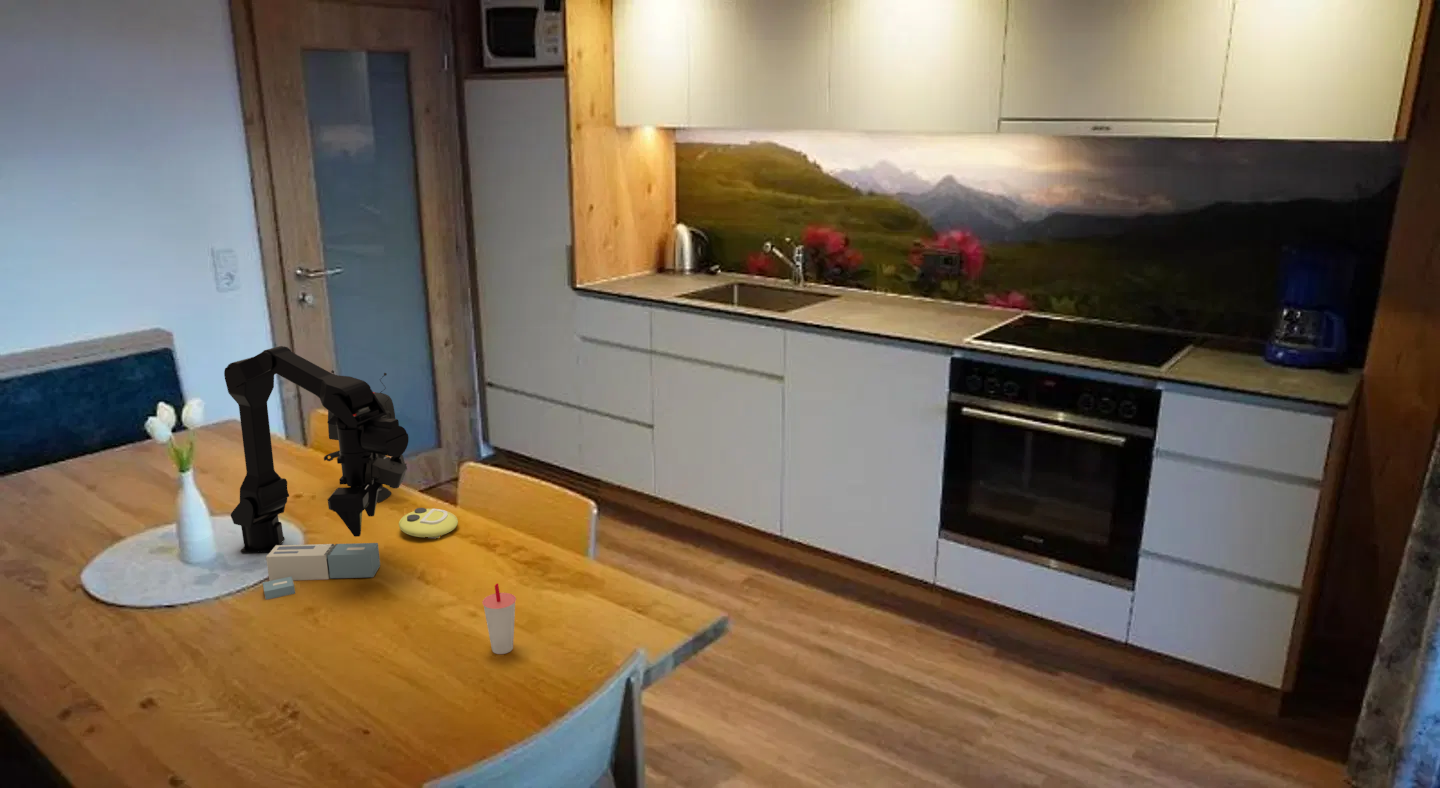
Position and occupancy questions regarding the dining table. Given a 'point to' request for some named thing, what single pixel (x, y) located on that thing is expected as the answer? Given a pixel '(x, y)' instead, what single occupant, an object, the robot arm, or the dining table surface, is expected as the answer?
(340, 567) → the stub
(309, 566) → the block
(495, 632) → the cup
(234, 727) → the dining table surface
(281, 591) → the torn stub
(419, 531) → the emoji
